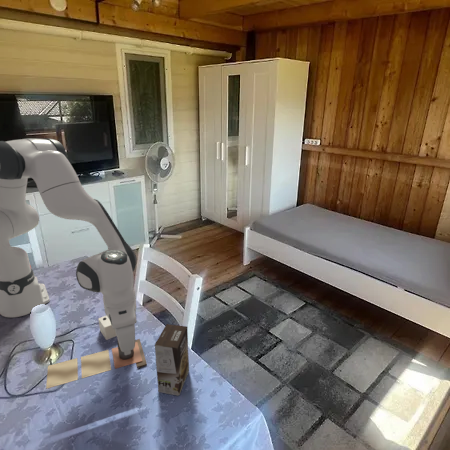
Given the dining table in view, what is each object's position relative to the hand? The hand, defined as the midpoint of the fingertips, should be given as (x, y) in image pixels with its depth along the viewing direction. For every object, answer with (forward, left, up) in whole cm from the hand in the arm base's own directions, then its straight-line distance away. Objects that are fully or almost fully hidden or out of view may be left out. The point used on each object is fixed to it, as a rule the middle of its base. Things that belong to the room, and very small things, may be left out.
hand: (125, 342), depth 100 cm
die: (-13, -3, -6) cm, 14 cm away
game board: (0, -9, -5) cm, 10 cm away
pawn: (0, 0, -4) cm, 4 cm away
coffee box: (+15, +11, -6) cm, 19 cm away
